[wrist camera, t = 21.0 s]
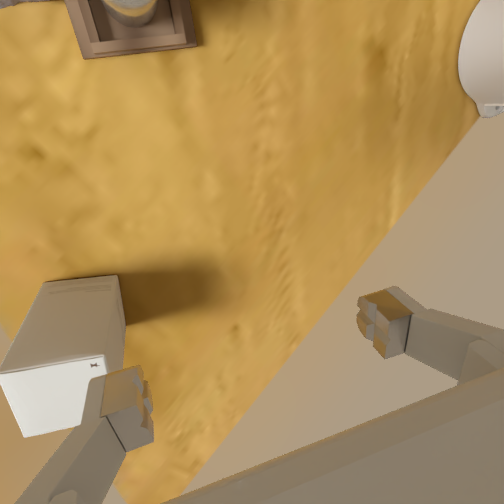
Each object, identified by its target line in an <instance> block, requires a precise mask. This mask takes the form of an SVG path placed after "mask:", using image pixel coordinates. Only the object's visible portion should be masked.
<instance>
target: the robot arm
mask: <svg viewBox="0 0 504 504" xmlns="http://www.w3.org/2000/svg"><path fill="white" fill-rule="evenodd" d="M458 70H459V77H460V81H461V84H462V87H463V89H464V90H465V92H466V93H467V94H468V96H470V97H471V98H472V99H473V100H474V101H475V102H476V104H477V108H478V111H479V114H480V116H481V117H482V118H490V117H493V116H496V115H498V114H500V113H502V112H504V0H480V2H479V3H478V5H477V6H476V8H475V9H474V11H473V13H472V15H471V17H470V19H469V21H468V23H467V25H466V28H465V31H464V34H463V37H462V40H461V44H460V50H459V58H458ZM357 304H358V307H359V308H360V311H359V312H358V314H357V324H358V328H359V329H360V331H361V333H362V334H363V335H364V337H365V338H366V339H369V340H371V341H373V347H374V348H375V349H376V350H377V351H378V353H379V354H380V355H381V356H382V357H383V358H384V359H387V358H390V357H393V356H396V355H400V354H403V353H405V354H407V355H408V356H410V357H412V358H414V359H416V360H418V361H420V362H422V363H424V364H426V365H428V366H430V367H432V368H434V369H436V370H438V371H440V372H442V373H444V374H446V375H448V376H450V377H452V378H454V379H456V380H458V383H457V386H455V387H453V388H450V389H448V390H445V391H443V392H440V393H438V394H435V395H433V396H430V397H428V398H425V399H423V400H420V401H418V402H415V403H412V404H410V405H408V406H405V407H403V408H400V409H397V410H395V411H392V412H390V413H388V414H385V415H383V416H380V417H377V418H375V419H372V420H370V421H367V422H365V423H362V424H360V425H357V426H355V427H353V428H350V429H347V430H345V431H343V432H340V433H337V434H335V435H333V436H330V437H327V438H325V439H323V440H320V441H317V442H315V443H312V444H310V445H307V446H305V447H302V448H300V449H297V450H294V451H292V452H289V453H287V454H284V455H282V456H279V457H277V458H274V459H272V460H269V461H267V462H264V463H262V464H259V465H257V466H254V467H252V468H249V469H247V470H244V471H242V472H239V473H237V474H234V475H232V476H229V477H227V478H224V479H222V480H219V481H217V482H214V483H211V484H209V485H207V486H204V487H202V488H199V489H196V490H194V491H191V492H189V493H186V494H184V495H181V496H179V497H176V498H174V499H171V500H169V501H166V502H164V503H161V504H504V330H503V329H500V328H496V327H493V326H489V325H486V324H483V323H479V322H475V321H472V320H469V319H465V318H461V317H458V316H455V315H451V314H448V313H444V312H441V311H437V310H434V309H428V310H427V309H426V308H424V307H423V306H422V305H421V304H419V303H418V302H417V301H415V300H414V299H413V298H411V297H410V296H409V295H408V294H406V293H405V292H404V291H402V290H401V289H400V288H399V287H396V286H392V287H389V288H386V289H383V290H380V291H377V292H374V293H371V294H367V295H364V296H361V297H359V299H358V303H357ZM152 411H153V401H152V395H151V390H150V387H149V384H148V382H147V381H145V380H144V372H143V370H142V368H141V366H140V365H136V366H132V367H129V368H125V369H122V370H118V371H115V372H111V373H108V374H105V375H102V376H98V377H94V378H91V380H90V381H89V383H88V388H87V393H86V399H85V404H84V409H83V414H82V419H81V424H80V425H78V426H75V427H74V429H73V430H72V431H71V432H70V434H69V435H68V436H67V438H66V439H65V440H64V441H63V443H62V444H61V445H60V446H59V448H58V449H57V450H56V452H55V453H54V454H53V456H52V457H51V458H50V459H49V460H48V462H47V463H46V464H45V466H44V467H43V468H42V470H41V471H40V472H39V473H38V475H37V476H36V477H35V478H34V480H33V481H32V482H31V483H30V485H29V486H28V487H27V489H26V490H25V491H24V492H23V494H22V495H21V496H20V498H19V499H18V500H17V501H16V503H15V504H102V502H103V500H104V498H105V496H106V494H107V492H108V490H109V488H110V486H111V484H112V482H113V480H114V478H115V476H116V474H117V472H118V470H119V468H120V466H121V464H122V462H123V460H124V458H125V456H126V452H129V451H131V450H134V449H136V448H139V447H141V446H144V445H147V444H149V443H152V442H154V429H153V420H152V418H151V416H150V414H151V412H152Z"/></svg>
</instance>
